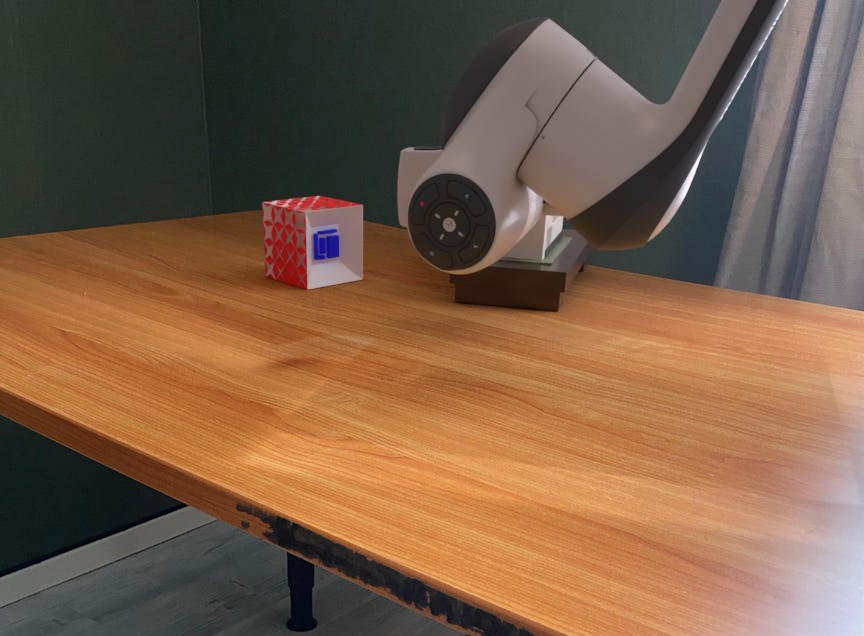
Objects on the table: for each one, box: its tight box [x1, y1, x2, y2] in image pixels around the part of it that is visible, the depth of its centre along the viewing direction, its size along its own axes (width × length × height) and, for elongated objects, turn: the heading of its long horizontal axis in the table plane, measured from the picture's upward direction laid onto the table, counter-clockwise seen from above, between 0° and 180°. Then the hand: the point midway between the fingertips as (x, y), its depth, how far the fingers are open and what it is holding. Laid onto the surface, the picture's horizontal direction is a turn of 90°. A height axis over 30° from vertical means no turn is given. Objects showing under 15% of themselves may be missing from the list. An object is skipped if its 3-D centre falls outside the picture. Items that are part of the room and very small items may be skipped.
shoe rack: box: [449, 228, 595, 312], centre depth 111 cm, size 12×24×7 cm, turn 163°
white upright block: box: [502, 215, 564, 260], centre depth 106 cm, size 14×5×12 cm, turn 163°
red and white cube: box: [261, 195, 364, 291], centre depth 111 cm, size 8×8×8 cm
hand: (522, 174), depth 97 cm, fingers open, 8 cm apart
